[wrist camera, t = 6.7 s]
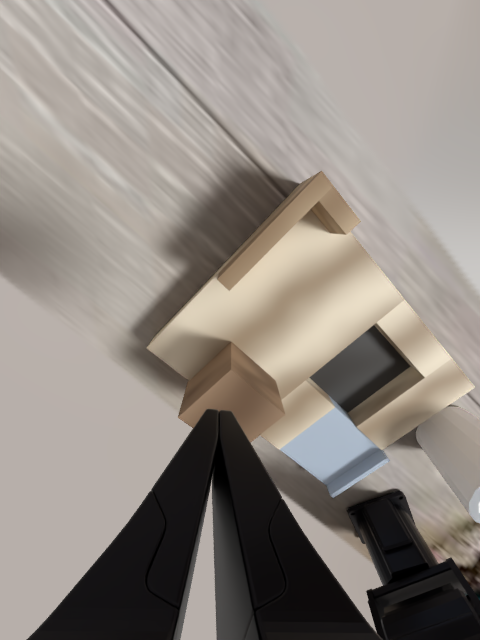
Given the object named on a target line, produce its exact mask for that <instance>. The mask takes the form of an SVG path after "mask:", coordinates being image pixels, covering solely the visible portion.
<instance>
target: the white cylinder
mask: <svg viewBox="0 0 480 640" xmlns="http://www.w3.org/2000/svg"><path fill="white" fill-rule="evenodd" d="M416 439H417V442H418V443H419V445H420V446H421V447H422V449H423V450H424V452H425V453H426V454H427V456H428V457H429V458H430V460H431V461H432V463H433V464H434V465H435V467H436V468H437V470H438V471H439V472H440V474H441V475H442V477H443V478H444V479H445V481H446V482H447V484H448V485H449V486H450V488H451V489H452V491H453V492H454V493H455V495H456V496H457V498H458V499H459V500H460V502H461V503H462V505H463V506H464V507H465V509H466V510H467V512H468V513H469V514H470V515H471V517H472V518H473V519H474V520H475V521H476V522H477V523H480V419H479V418H478V417H476V416H475V415H473V414H472V413H470V412H469V411H467V410H465V409H463V408H461V407H453V406H447V407H445V408H444V409H442V410H441V411H439V412H438V413H436V414H435V415H434V416H432V417H431V418H429V419H428V420H426V421H425V422H423V423H422V424H420V425H419V426H418V428H417V431H416Z"/></svg>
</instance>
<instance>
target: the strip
mask: <svg viewBox="0 0 480 640" xmlns="http://www.w3.org/2000/svg"><path fill="white" fill-rule="evenodd" d="M328 396H329V395H328ZM329 397H330V396H329ZM330 399H331V401H332V403H333V404H334V406H335V408H334V409H332V410H331V411H330V412H328V413H327V414H326V415H324V416H323V417H322V418H320V419H319V420H318V421H316V422H315V423H314V424H313V425H311V426H310V427H309V428H307V429H306V430H305V431H303V432H302V433H301V434H299V435H298V436H297V437H295V438H294V439H293V440H291V441H290V442H289V443H287V444H286V445H285V446H284V447H282V448H281V449H280V450H281V451H282V452H284V453H285V454H286V455H287V456H289V457H290V458H291V459H293V460H294V461H295V462H297V463H298V464H299V465H300V466H302V467H303V468H304V469H306V470H307V471H308V472H309V473H311V474H312V475H313V476H315V477H316V478H317V479H319V480H320V481H321V482H322V483H324V484H325V485H326V486H327V488H328V491H329V494H330V496H331V497H333V498H334V497H336V496H337V495H339V494H340V493H342V492H343V491H345V490H346V489H348V488H349V487H351V486H352V485H354V484H355V483H357V482H358V481H360V480H361V479H363V478H364V477H366V476H368V475H369V474H371V473H372V472H374V471H375V470H377V469H378V468H380V467H381V466H383V465H384V464H386V463H387V462H389V461H390V460H389V459H388V457H387V456H386V454H385V453H384V451H383V450H381V449H380V448H379V447H378V446H376V445H375V444H374V443H373V442H372V441H371V440H370V439H369V438H368V437H367V436H366V435H364V434H363V433H362V432H361V431H360V430H359V429H358V428H357V427H356V426H355V424H354V422H353V421H352V419H351V418H350V416H349V414H348V413H347V412H346V411H345V410H344V409H343V408H342V407H341V406H340V405H338V404H337V403H336V402H335V401H334V400H333V399H332V398H331V397H330Z"/></svg>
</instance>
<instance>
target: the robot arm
mask: <svg viewBox="0 0 480 640" xmlns="http://www.w3.org/2000/svg"><path fill="white" fill-rule="evenodd" d="M211 480H212V504H213V536H214V568H215V600H216V630H217V640H480V600H479V599H478V597H477V596H476V594H475V593H474V591H473V590H472V588H471V587H470V585H469V584H468V582H467V581H466V579H465V578H464V576H463V575H462V573H461V572H460V570H459V569H458V567H457V566H456V564H455V563H454V561H453V560H452V558H449V559H446V561H445V562H442V563H440V564H438V562H437V560H436V559H435V557H434V555H433V554H432V552H431V550H430V549H429V547H428V546H427V544H426V542H425V541H424V539H423V537H422V536H421V534H420V532H419V531H418V529H417V528H416V526H415V523H414V520H413V517H412V514H411V511H410V508H409V505H408V503H407V500H406V497H405V495H404V494H403V492H401V491H398V492H395V493H392V494H389V495H386V496H383V497H380V498H377V499H374V500H371V501H368V502H365V503H362V504H359V505H356V506H353V507H350V508H348V509H347V512H348V515H349V517H350V519H351V521H352V523H353V525H354V527H355V529H356V531H357V533H358V535H359V537H360V540H361V542H362V543H363V544H366V546H367V549H368V551H369V554H370V556H371V558H372V561H373V563H374V565H375V568H376V570H377V573H378V575H379V577H380V580H381V582H382V584H383V586H381V587H379V588H376V589H373V590H372V589H370V590H367V595H368V599H369V600H368V604H369V607H370V610H371V613H372V617H373V621H374V624H375V627H376V631H377V633H376V632H375V631H374V630H373V628H372V627H371V626H370V625H369V623H368V622H367V621H366V619H365V618H364V617H363V615H362V614H361V613H360V611H359V610H358V609H357V607H356V606H355V604H354V603H353V602H352V601H351V599H350V598H349V596H348V595H347V593H346V592H345V591H344V589H343V588H342V586H341V585H340V584H339V582H338V581H337V579H336V578H335V577H334V575H333V574H332V572H331V571H330V570H329V568H328V567H327V565H326V564H325V563H324V561H323V560H322V558H321V557H320V556H319V554H318V553H317V551H316V550H315V549H314V548H313V546H312V544H311V543H310V541H309V540H308V538H307V537H306V536H305V534H304V533H303V531H302V529H301V528H300V526H299V525H298V523H297V521H296V520H295V518H294V517H293V515H292V513H291V512H290V510H289V508H288V506H287V505H286V503H285V501H284V500H283V499H282V496H281V494H280V493H279V491H278V489H277V488H276V486H275V484H274V482H273V481H272V479H271V477H270V476H269V474H268V472H267V470H266V469H265V467H264V465H263V464H262V462H261V460H260V458H259V457H258V455H257V453H256V452H255V450H254V448H253V446H252V445H251V443H250V441H249V440H248V438H247V436H246V434H245V433H244V431H243V429H242V428H241V426H240V424H239V422H238V421H237V419H236V417H235V416H234V414H233V412H232V411H229V410H220V411H218V410H217V409H206V410H205V412H204V413H203V415H202V416H201V418H200V419H199V421H198V422H197V423H196V425H195V426H194V428H193V429H192V431H191V432H190V434H189V435H188V437H187V438H186V440H185V441H184V443H183V444H182V446H181V447H180V448H179V450H178V452H177V453H176V454H175V456H174V458H173V459H172V460H171V462H170V463H169V465H168V466H167V467H166V469H165V470H164V472H163V473H162V475H161V476H160V478H159V479H158V481H157V482H156V483H155V485H154V486H153V488H152V490H151V491H150V492H149V493H148V495H147V496H146V498H145V500H144V501H143V502H142V504H141V505H140V506H139V508H138V509H137V511H136V512H135V513H134V515H133V516H132V517H131V519H130V520H129V522H128V523H127V524H126V526H125V527H124V528H123V529H122V530H121V532H120V533H119V534H118V535H117V537H116V538H115V539H114V540H113V542H112V543H111V544H110V545H109V547H108V548H107V549H106V550H105V551H104V552H103V554H102V555H101V556H100V557H99V558H98V559H97V561H96V562H95V563H94V564H93V566H92V567H91V568H90V569H89V570H88V571H87V573H86V574H85V575H84V576H83V577H82V578H81V580H80V581H79V582H78V583H77V584H76V585H75V587H74V588H73V589H72V590H71V591H70V593H69V594H68V595H67V596H66V597H65V598H64V600H63V601H62V602H61V603H60V604H59V605H58V607H57V608H56V609H55V610H54V611H53V612H52V614H51V615H50V616H49V617H48V618H47V619H46V620H45V621H44V622H43V624H42V625H41V626H40V627H39V628H38V629H37V630H36V631H35V632H34V633H33V634H32V635H31V636H30V637H29V638H28V639H27V640H180V638H181V633H182V628H183V623H184V618H185V613H186V607H187V602H188V598H189V593H190V588H191V583H192V577H193V572H194V567H195V562H196V557H197V552H198V546H199V542H200V537H201V531H202V527H203V522H204V517H205V512H206V507H207V501H208V496H209V491H210V486H211ZM464 592H467V594H468V595H467V596H465V594H464Z"/></svg>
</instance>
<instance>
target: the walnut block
mask: <svg viewBox="0 0 480 640" xmlns="http://www.w3.org/2000/svg"><path fill="white" fill-rule="evenodd" d="M206 409H217V410H218V411H220V410H229V411H232V412H233V414H234V416H235V417H236V419H237V421H238V422H239V424H240V426H241V428H242V429H243V431H244V433H245V434H246V436H247V438H248V440H249V441H250V442H252V441H253V440H254V439H256V438H257V437H258V436H259V435H261V434H262V433H263V432H264V431H266V430H267V429H268V428H269V427H271V426H272V425H273V424H275V423H276V422H277V421H278V420H280V419H281V418H282V417H283V416H285V411H284V408H283V404H282V401H281V397H280V394H279V390H278V387H277V383H276V380H275V379H273V378H272V377H271V376H270V375H269V374H268V373H267V372H265V371H264V370H263V369H262V368H261V367H260V366H259V365H258V364H256V363H255V362H254V361H253V360H252V359H251V358H250V357H248V356H247V355H246V354H245V353H244V352H243V351H242V350H240V349H239V348H238V347H237V346H236V345H235V344H234V343H232V342H230V343H229V344H228V345H227V346H226V347H225V348H224V349H223V350H222V351H220V352H219V353H218V354H217V355H216V356H215V357H214V358H213V359H212V360H211V361H210V362H209V363H208V364H207V365H206V366H204V367H203V368H202V369H201V370H200V371H199V372H198V373H197V374H196V375H195V376H194V377H193V378H192V379H191V380H190V381H188V383H187V386H186V390H185V394H184V397H183V401H182V405H181V408H180V412H179V415H178V418H179V419H181V420H182V421H184V422H185V423H186V424H188V425H189V426H191V427H192V428H194V426H195V425H196V423H197V422H198V421H199V419H200V418H201V416H202V415H203V413H204V412H205V410H206Z"/></svg>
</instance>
